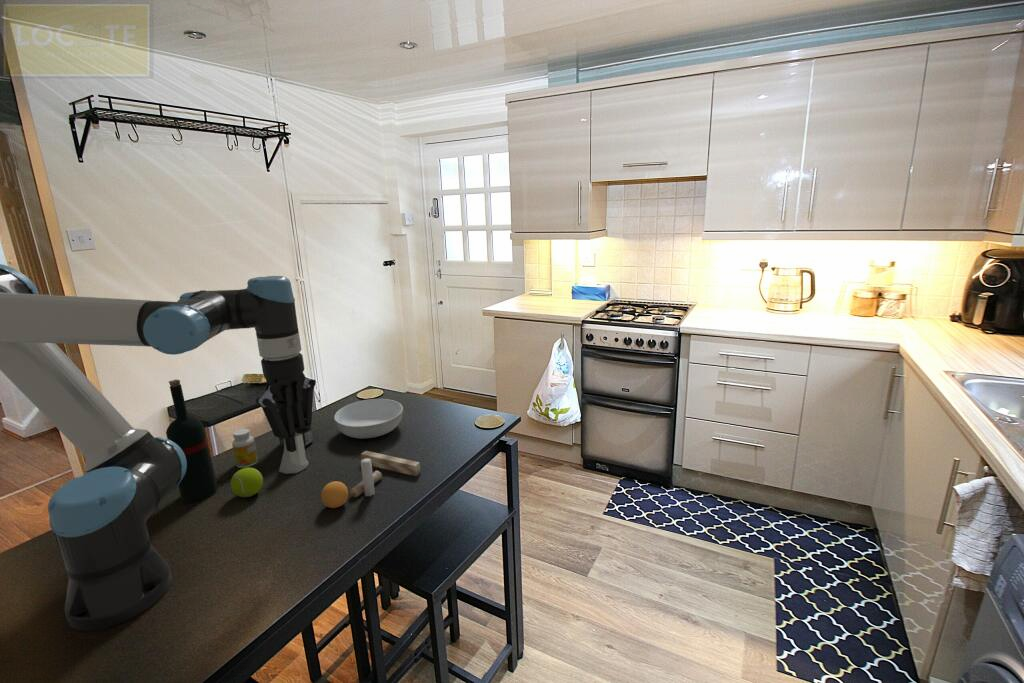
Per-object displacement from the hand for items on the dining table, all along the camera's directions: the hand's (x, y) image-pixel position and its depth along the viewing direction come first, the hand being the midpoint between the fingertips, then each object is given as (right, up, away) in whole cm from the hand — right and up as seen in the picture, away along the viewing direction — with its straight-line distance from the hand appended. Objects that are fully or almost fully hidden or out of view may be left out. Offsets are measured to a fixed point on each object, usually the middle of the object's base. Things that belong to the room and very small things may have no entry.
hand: (299, 462), depth 101 cm
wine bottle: (-34, -13, +19) cm, 41 cm away
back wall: (+12, -9, +29) cm, 32 cm away
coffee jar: (-20, -6, +45) cm, 49 cm away
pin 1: (+10, -12, +17) cm, 23 cm away
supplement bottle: (-29, -9, +34) cm, 46 cm away
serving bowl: (0, -3, +52) cm, 52 cm away
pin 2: (+6, -11, +16) cm, 20 cm away
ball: (+3, -11, +12) cm, 16 cm away
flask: (-15, -9, +31) cm, 35 cm away
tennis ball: (-20, -13, +19) cm, 31 cm away
